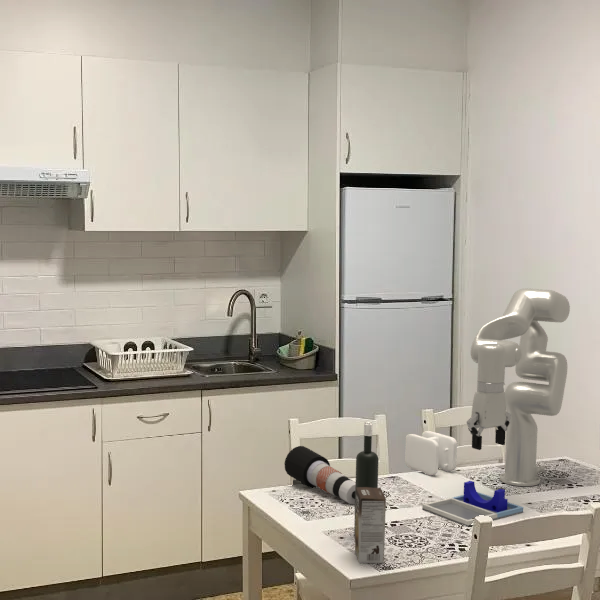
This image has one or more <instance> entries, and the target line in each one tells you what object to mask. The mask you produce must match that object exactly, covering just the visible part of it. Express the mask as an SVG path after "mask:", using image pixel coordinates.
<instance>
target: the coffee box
mask: <svg viewBox="0 0 600 600" xmlns="http://www.w3.org/2000/svg"><path fill="white" fill-rule="evenodd" d="M386 503H387V498H386V496H385V495H384V492H383V490H382V487H378V488H371V487H356V515H355V514H354V523H355V536H354V551H355V554H356V558H357V562H358V563H359V564H383V563H385V561H384V560H385V537H386V535H385V534H386V532H385V531H386V514H387V512H386V511H387V510H386V505H387V504H386Z"/></svg>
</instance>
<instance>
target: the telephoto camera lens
mask: <svg viewBox="0 0 600 600" xmlns="http://www.w3.org/2000/svg"><path fill="white" fill-rule="evenodd" d="M284 470H285V472H286V474H287V475H288V476H290V477H291V478H293V480H296V481H297V482H299V483H301V484H302V485H304V486H306V487H307V488H309V489H315V488H316V487H317V488H319V489H320V490H321V491H322V490H323V491H324V492H325V493H327V494H329V495H333V496H334V497H336V498H337V499H340V500H341V501H344V502H346V503H348V504H350V505H355V484H356V481H354V480H352V479H351V478H349V477H347V476H346V475H345V474H343V473H342V472H341V471H339V470H337V469H335V468H333V467H332V466H331V464H330V461H329V460H328V459H327V458H326V457H324V456H323V455H321V454H319V453H318V452H316V451H314V450H312V449H310V448H308V447H306V446H303V445H299V446H296V447H294V448H292V449H291V450H289V451H288V453H287V455H286V457H285V459H284Z"/></svg>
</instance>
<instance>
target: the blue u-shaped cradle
mask: <svg viewBox="0 0 600 600" xmlns="http://www.w3.org/2000/svg"><path fill="white" fill-rule="evenodd" d="M475 485H476V484H475V481H472V480H468V481H465V482H464V483H463V495H464V498H463V502H465V503H468V504H471V505H474V506H476V507H480V508H483V509H487V510H490V511H494V512H497V513H498V512H502V511H504V510H507V504H508V500H509V499H508V498H506V490H505V489H504V488H498V489H496V490H494V491H493V496H492V497H493V498H492V499H491V500H484V499H483V498H481V497H480V496H479V494H478V493H477V492H478V491H477V489H476V486H475Z"/></svg>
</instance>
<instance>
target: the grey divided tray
mask: <svg viewBox="0 0 600 600" xmlns="http://www.w3.org/2000/svg"><path fill="white" fill-rule="evenodd" d="M477 493H478V494H479V496H480V497H481V498H483V499H484V500H491V499H492V498H493V496H491V495H488V494H484V493H482V492H480V491H477ZM463 498H464V494H462V495H458V496H454V497H449V498H445V499H440V500H436V501H431V502H427V503H423V504H422V505H421V506H422V509H421V510H423V511H426V512H428V513H430V514H433V515H436V516H438V517H442V518H443V519H447V520H450V521H452V522H454V523H457V524H459V523H460V525H462V524H463V526H464V525H466V526H465V527H467V526H469V525H471V524H472V523H473V520H474V519H472V518H474V517H476V516H479V515H484V516H489V517H491V518H492V519H493V520H492V521H495V520H498V519H499V520H500V519H503V518H507V517H511V516H514V515H515V516H516V515H518V514H522V513H524V506H522V505H519V504H518V505H517V504H514V503H511V502H508V504H507V510H504V511H502V512H498V513H497V512H494V511H490V510H487V509H483V508H480V507H476V506H474V505H471V504H468V503H465V502H463ZM469 527H470V526H469Z"/></svg>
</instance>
